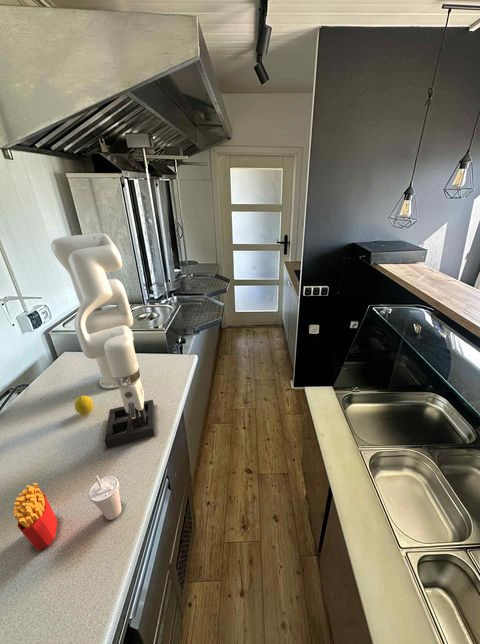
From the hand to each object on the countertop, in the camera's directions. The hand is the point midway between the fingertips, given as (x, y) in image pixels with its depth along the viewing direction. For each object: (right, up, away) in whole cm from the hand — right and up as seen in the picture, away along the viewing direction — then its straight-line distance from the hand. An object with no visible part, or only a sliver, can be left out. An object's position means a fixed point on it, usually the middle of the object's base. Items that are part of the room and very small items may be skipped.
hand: (139, 419), depth 94 cm
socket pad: (-4, -4, +4) cm, 7 cm away
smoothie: (+3, -16, -21) cm, 27 cm away
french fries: (-11, -18, -25) cm, 33 cm away
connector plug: (0, -1, 0) cm, 1 cm away
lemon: (-23, -2, +10) cm, 25 cm away
